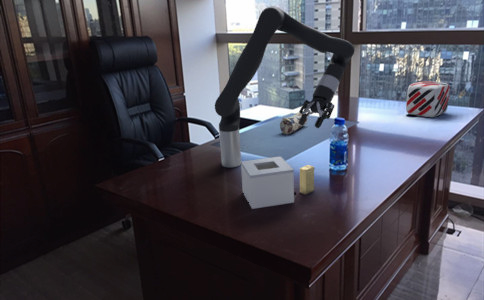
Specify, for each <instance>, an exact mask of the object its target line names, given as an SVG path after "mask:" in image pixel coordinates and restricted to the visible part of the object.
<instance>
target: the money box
mask: <svg viewBox="0 0 484 300" xmlns="http://www.w3.org/2000/svg"><path fill="white" fill-rule="evenodd" d="M240 166H241V167H240V168H241V184H242V185H241V186H242V194H243V193H244V194H243V196H244V197H245V199H246V200H247V201H246V202H249V203H248V204H249V206H250V208H251V210H255V209H260V208H266V207H274V206H280V205H286V204H292V203H293V204H294V203H295V182H294V181H295V179H294V177H295V174H294V168H292V166H290V164H289V163H287V161H286V160H285V159H284V158H283V157H282V156H273V157H266V158H258V159H251V160H241V165H240Z"/></svg>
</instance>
